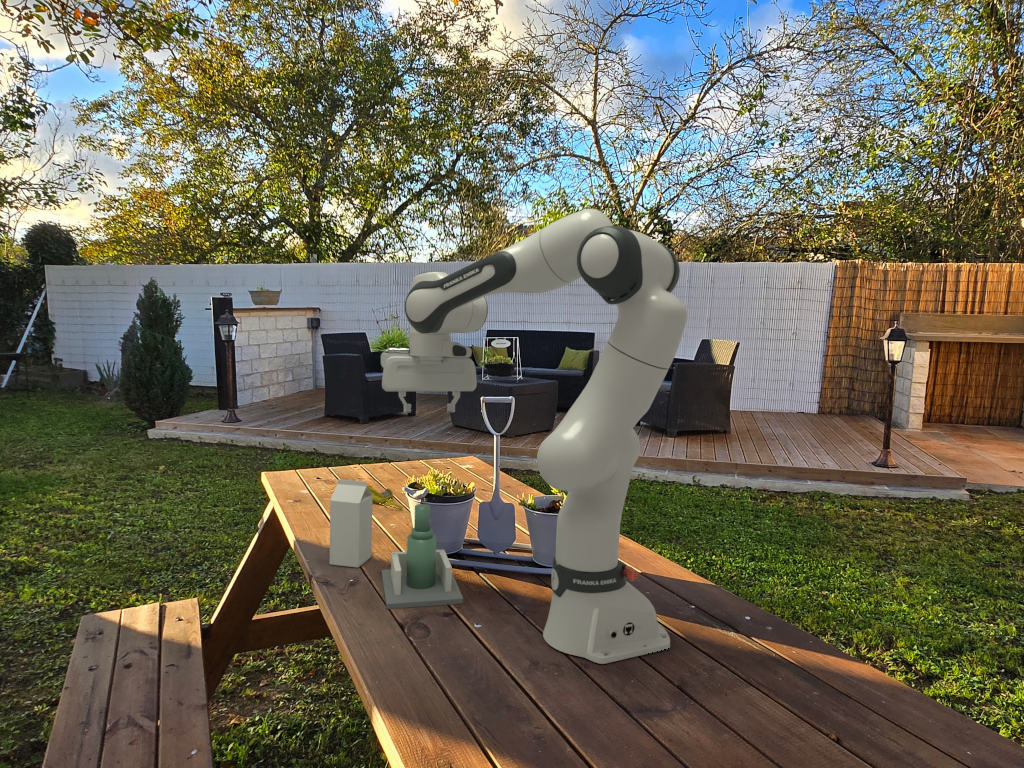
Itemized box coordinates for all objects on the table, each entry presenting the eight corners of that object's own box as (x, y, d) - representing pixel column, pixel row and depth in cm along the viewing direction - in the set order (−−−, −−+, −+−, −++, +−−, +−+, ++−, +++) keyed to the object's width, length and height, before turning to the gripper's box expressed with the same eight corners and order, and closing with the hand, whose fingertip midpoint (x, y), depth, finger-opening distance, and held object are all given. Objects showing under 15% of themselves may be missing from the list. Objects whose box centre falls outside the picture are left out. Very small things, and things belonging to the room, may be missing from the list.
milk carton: (358, 568, 143) (359, 485, 142) (329, 565, 145) (330, 482, 143) (371, 557, 150) (372, 478, 149) (343, 554, 152) (344, 476, 150)
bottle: (433, 577, 137) (435, 501, 136) (437, 588, 132) (439, 509, 130) (405, 578, 136) (406, 502, 135) (407, 590, 130) (409, 510, 129)
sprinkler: (336, 489, 196) (376, 480, 207) (335, 501, 196) (375, 491, 208) (375, 510, 183) (415, 499, 195) (374, 523, 184) (414, 512, 195)
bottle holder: (449, 570, 144) (449, 544, 144) (463, 603, 127) (464, 574, 127) (381, 574, 141) (382, 547, 140) (386, 609, 123) (387, 578, 123)
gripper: (381, 347, 132) (381, 414, 133) (478, 349, 137) (477, 413, 138) (379, 347, 138) (379, 411, 139) (473, 348, 143) (472, 410, 144)
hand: (429, 412), depth 138 cm, fingers open, 8 cm apart
